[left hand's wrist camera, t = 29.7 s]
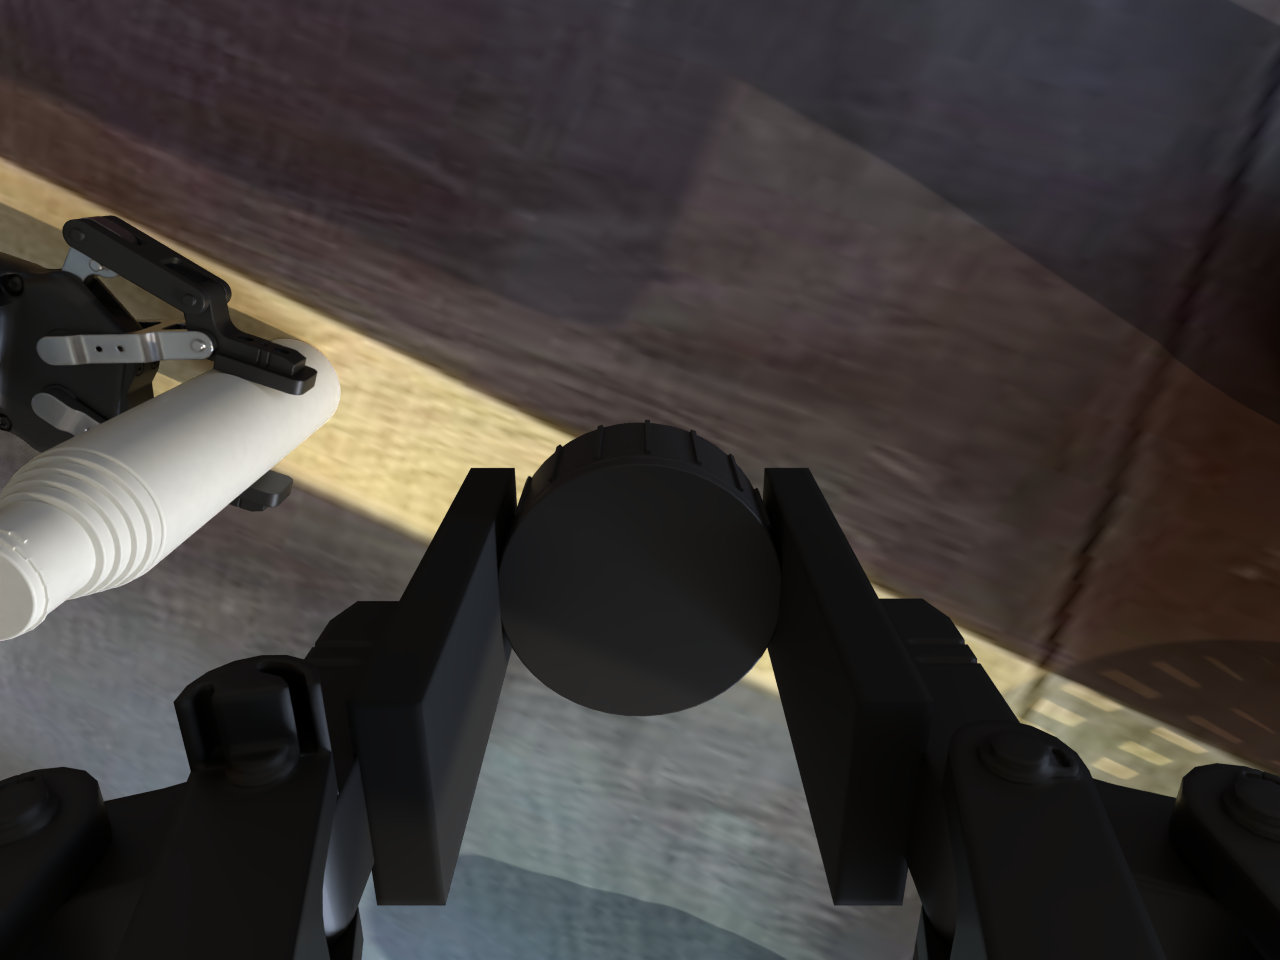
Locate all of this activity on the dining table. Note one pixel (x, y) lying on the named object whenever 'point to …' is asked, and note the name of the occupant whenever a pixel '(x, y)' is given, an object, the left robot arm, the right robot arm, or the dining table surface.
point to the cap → (639, 571)
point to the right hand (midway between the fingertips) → (295, 438)
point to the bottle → (144, 485)
